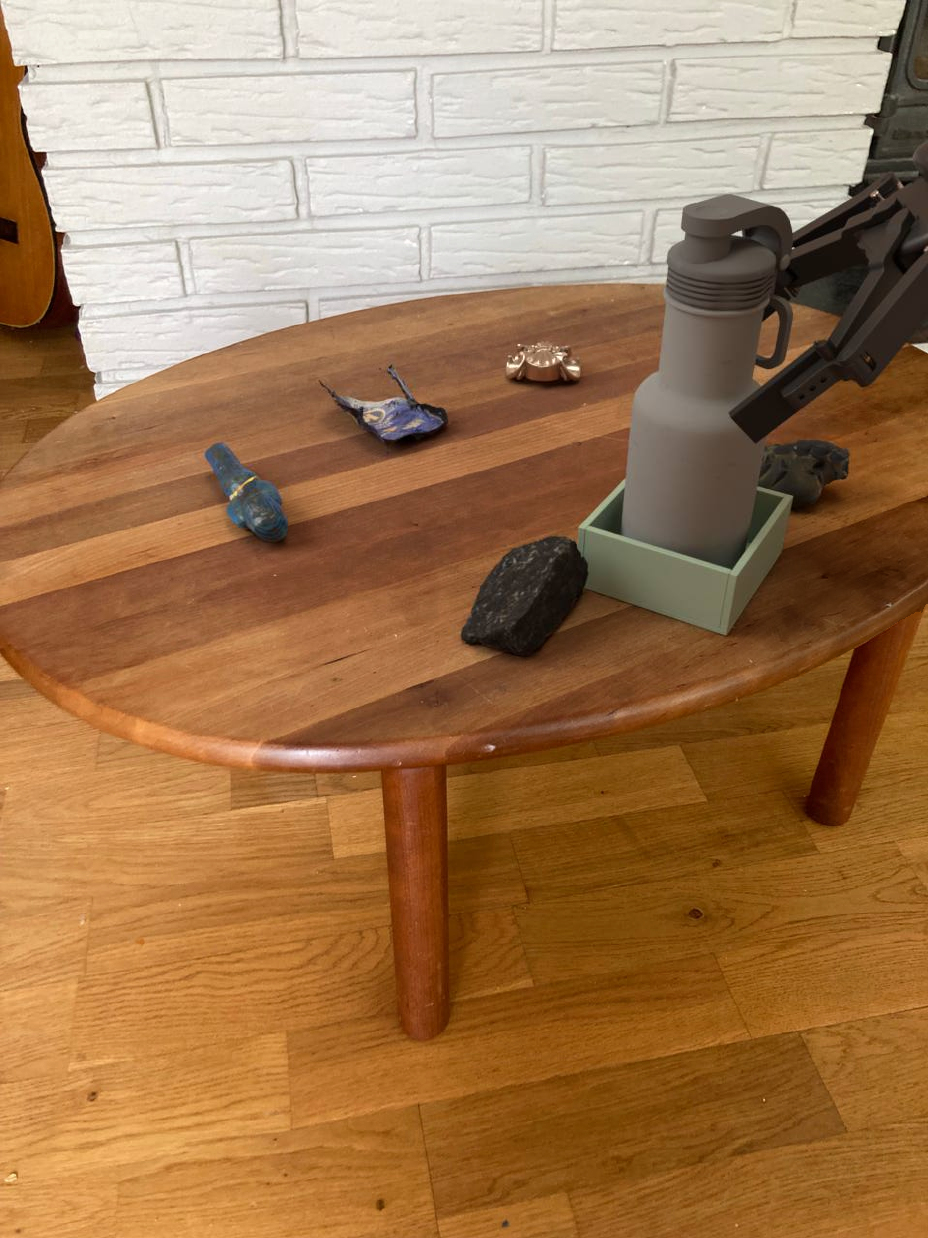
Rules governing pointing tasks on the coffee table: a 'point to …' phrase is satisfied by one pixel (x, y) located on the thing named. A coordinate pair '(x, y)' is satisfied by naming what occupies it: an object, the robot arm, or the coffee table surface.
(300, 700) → the coffee table surface
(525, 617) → the rock
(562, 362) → the ornament
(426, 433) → the snack package
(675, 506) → the water bottle
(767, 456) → the stone
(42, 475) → the coffee table surface
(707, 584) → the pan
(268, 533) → the blue long piece
